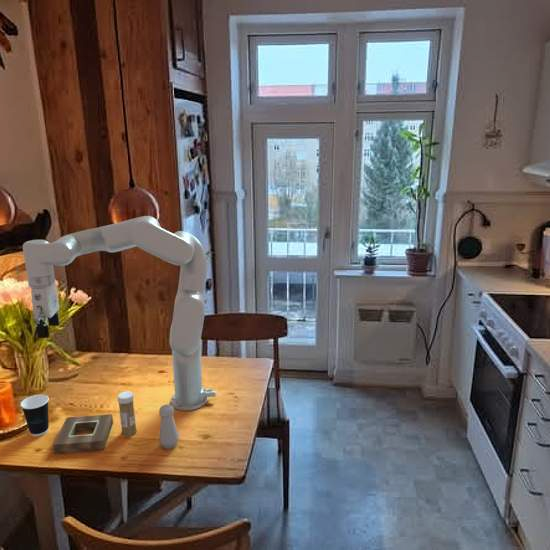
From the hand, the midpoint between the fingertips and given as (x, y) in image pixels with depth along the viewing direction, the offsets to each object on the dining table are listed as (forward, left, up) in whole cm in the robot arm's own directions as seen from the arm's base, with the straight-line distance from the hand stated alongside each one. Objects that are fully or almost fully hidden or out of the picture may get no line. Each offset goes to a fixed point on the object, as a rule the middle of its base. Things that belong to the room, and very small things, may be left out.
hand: (49, 331), depth 152 cm
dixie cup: (+4, +11, -30) cm, 32 cm away
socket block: (-11, +16, -30) cm, 35 cm away
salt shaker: (-37, +23, -30) cm, 53 cm away
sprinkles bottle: (-24, +15, -30) cm, 41 cm away
